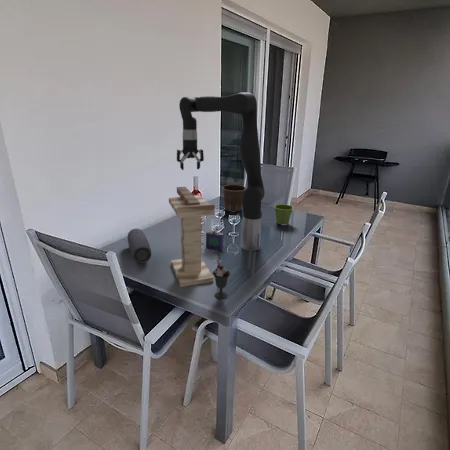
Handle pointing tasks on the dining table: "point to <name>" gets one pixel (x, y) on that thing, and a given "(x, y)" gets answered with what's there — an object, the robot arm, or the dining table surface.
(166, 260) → the dining table surface
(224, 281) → the sundae
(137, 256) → the bluetooth speaker
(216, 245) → the flask
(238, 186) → the plant pot
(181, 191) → the walnut plank
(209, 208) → the birch stand
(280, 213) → the plant pot
